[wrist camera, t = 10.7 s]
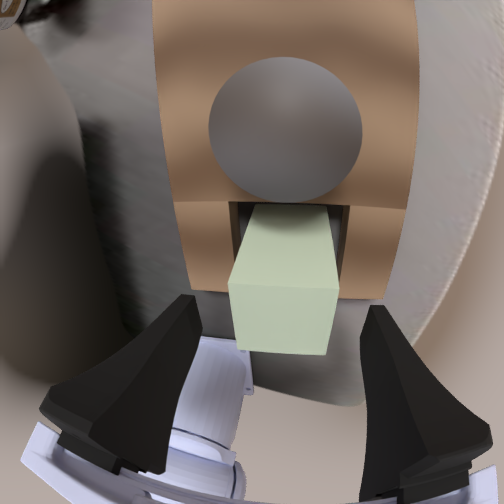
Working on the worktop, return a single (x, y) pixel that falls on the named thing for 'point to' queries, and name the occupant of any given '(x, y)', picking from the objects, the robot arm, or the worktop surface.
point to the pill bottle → (10, 12)
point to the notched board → (323, 54)
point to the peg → (285, 281)
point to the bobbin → (285, 129)
